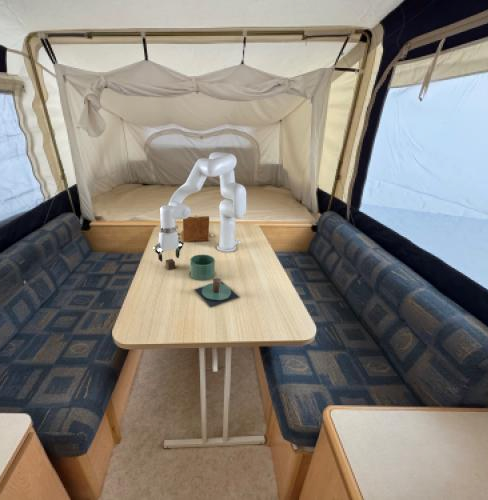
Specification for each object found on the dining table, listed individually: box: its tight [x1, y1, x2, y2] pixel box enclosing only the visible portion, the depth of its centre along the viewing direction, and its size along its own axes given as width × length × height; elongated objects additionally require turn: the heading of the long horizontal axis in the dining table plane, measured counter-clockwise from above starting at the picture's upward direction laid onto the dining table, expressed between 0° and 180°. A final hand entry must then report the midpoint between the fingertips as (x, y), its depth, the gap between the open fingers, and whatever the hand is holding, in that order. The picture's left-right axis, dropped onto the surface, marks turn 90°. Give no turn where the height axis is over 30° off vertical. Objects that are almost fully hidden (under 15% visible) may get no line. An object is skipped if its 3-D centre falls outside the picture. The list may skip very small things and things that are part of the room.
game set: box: [177, 214, 215, 243], centre depth 183 cm, size 28×22×19 cm
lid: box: [202, 277, 232, 300], centre depth 123 cm, size 14×14×7 cm
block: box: [165, 258, 176, 271], centre depth 146 cm, size 4×4×4 cm
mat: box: [194, 281, 240, 308], centre depth 125 cm, size 15×15×1 cm
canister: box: [189, 254, 216, 281], centre depth 139 cm, size 13×13×8 cm
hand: (169, 258), depth 145 cm, fingers open, 9 cm apart
